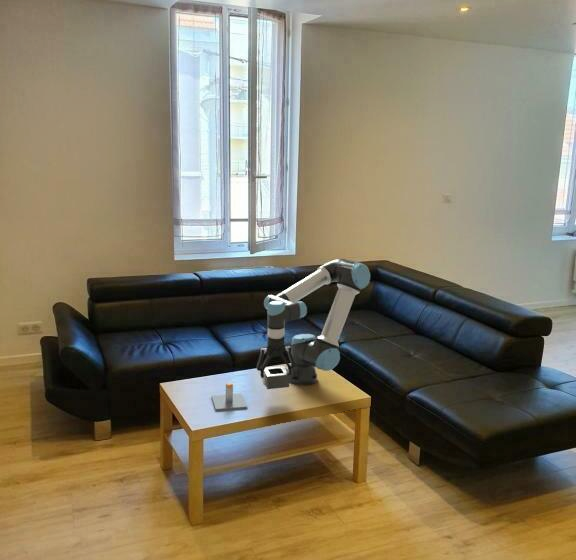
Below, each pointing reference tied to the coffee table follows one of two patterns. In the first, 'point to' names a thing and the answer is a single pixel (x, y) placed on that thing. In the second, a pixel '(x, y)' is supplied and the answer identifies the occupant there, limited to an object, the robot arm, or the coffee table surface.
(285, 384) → the hollow square block
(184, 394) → the coffee table surface
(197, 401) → the coffee table surface
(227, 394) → the keeper
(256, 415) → the coffee table surface
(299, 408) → the coffee table surface
